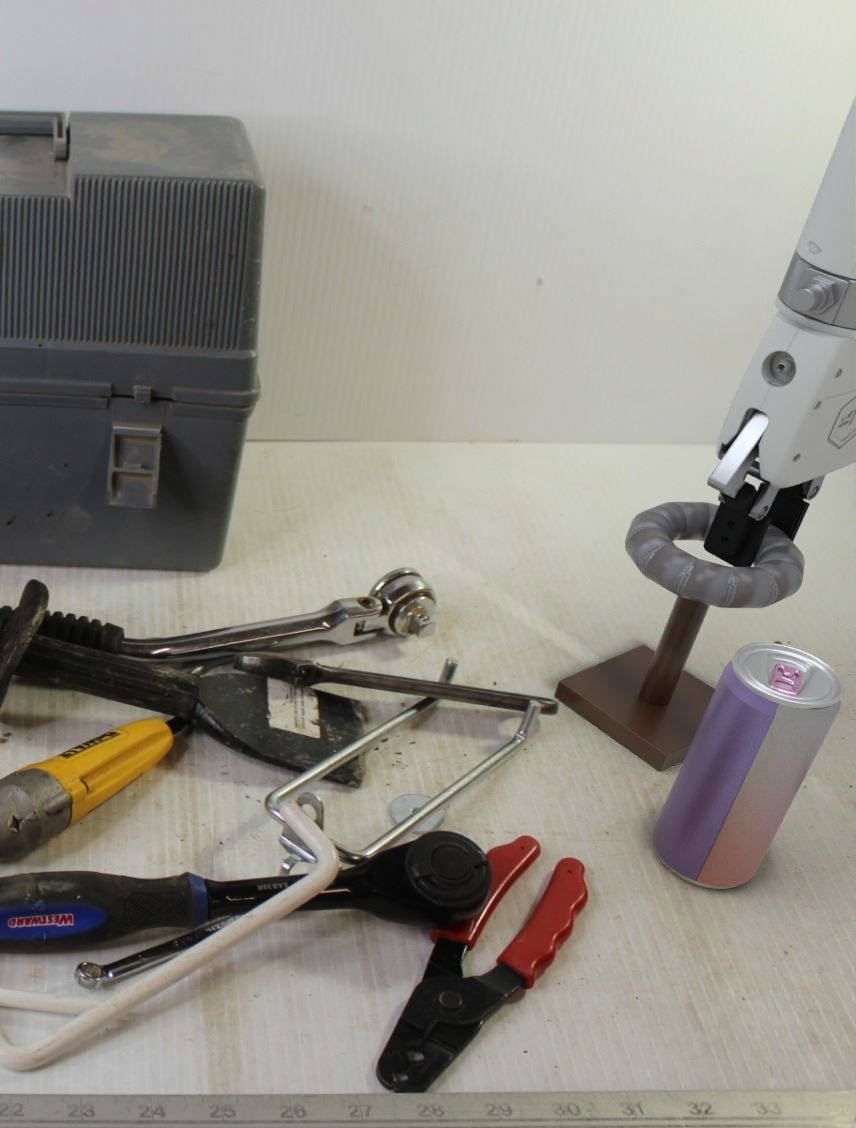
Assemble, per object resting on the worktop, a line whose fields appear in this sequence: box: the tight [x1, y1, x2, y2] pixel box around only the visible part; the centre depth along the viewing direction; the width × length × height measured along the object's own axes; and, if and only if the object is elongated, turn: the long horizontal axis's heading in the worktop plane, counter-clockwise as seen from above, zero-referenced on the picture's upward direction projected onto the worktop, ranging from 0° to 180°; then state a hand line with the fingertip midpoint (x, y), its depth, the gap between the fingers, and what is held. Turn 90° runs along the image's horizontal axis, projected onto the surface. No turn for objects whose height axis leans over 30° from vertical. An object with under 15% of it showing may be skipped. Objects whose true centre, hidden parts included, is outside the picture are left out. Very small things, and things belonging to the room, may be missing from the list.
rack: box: [553, 595, 715, 772], centre depth 91 cm, size 9×9×12 cm
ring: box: [624, 501, 806, 609], centre depth 87 cm, size 10×10×3 cm
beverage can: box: [651, 642, 845, 890], centre depth 79 cm, size 6×6×15 cm
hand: (745, 549), depth 89 cm, fingers closed on ring, 3 cm apart
